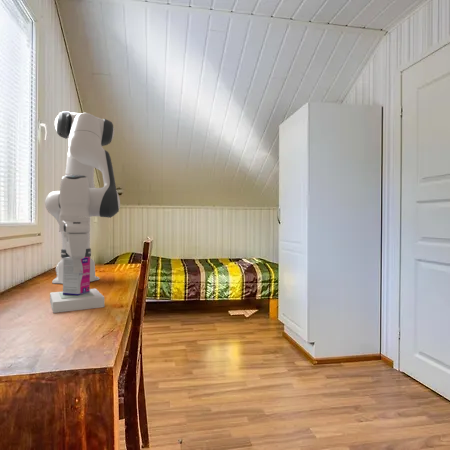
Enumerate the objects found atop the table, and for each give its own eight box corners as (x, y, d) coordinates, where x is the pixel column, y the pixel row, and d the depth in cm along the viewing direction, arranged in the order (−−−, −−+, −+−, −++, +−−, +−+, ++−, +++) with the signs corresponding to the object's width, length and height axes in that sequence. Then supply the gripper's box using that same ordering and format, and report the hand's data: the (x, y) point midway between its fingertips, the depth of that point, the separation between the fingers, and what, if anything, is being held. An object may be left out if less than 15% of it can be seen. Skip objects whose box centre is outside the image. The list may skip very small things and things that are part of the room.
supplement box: (78, 295, 107) (78, 258, 107) (62, 295, 108) (61, 257, 108) (90, 292, 112) (90, 256, 112) (74, 291, 114) (74, 255, 114)
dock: (49, 301, 115) (49, 291, 115) (95, 296, 121) (95, 287, 121) (52, 312, 100) (52, 301, 100) (104, 306, 107) (104, 296, 107)
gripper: (61, 225, 118) (61, 267, 118) (66, 227, 100) (66, 276, 100) (81, 225, 121) (81, 266, 121) (90, 227, 103) (90, 274, 103)
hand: (74, 270), depth 110 cm, fingers open, 8 cm apart
